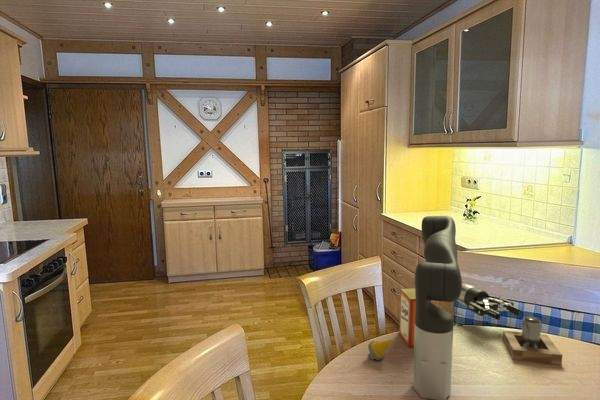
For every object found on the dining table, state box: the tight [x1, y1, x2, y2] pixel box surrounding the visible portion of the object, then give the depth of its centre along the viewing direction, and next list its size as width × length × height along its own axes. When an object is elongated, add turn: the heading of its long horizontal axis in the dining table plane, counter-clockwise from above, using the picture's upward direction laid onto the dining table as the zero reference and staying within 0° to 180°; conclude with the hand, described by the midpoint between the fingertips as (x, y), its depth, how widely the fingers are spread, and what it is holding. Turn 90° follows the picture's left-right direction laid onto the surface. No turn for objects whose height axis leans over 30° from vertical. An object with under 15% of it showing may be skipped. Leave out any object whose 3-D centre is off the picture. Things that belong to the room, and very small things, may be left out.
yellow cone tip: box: [367, 339, 393, 361], centre depth 114 cm, size 5×5×10 cm
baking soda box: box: [398, 287, 432, 349], centre depth 125 cm, size 10×6×16 cm
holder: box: [502, 330, 563, 366], centre depth 118 cm, size 12×12×3 cm
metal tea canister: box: [520, 315, 542, 349], centre depth 118 cm, size 5×5×10 cm
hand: (509, 314), depth 125 cm, fingers open, 8 cm apart
